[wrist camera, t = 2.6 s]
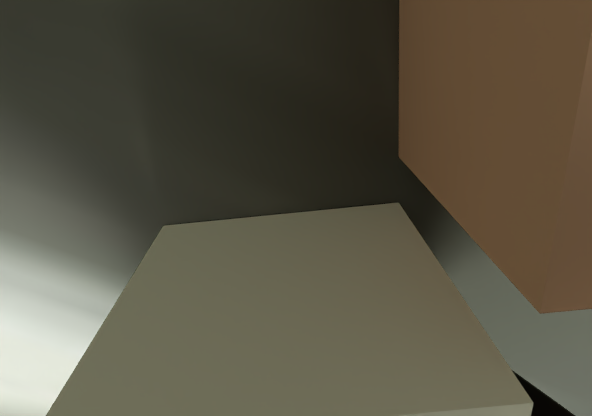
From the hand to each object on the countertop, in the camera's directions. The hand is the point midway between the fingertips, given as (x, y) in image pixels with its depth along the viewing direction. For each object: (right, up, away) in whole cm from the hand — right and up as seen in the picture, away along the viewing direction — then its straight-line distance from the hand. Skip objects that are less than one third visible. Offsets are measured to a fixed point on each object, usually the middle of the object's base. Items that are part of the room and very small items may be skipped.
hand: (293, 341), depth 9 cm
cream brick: (0, 0, +1) cm, 1 cm away
